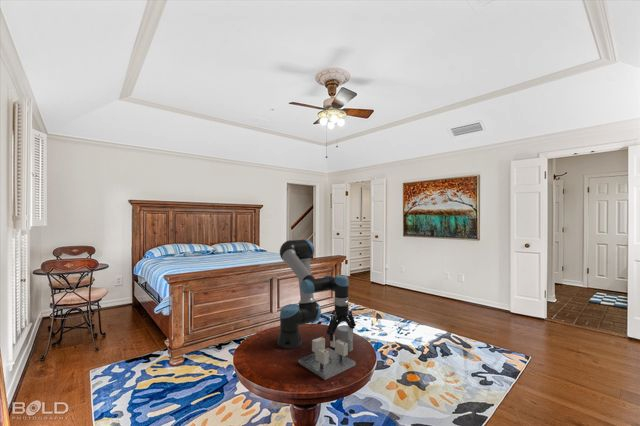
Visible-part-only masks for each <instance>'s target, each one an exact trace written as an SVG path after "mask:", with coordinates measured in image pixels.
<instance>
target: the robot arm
mask: <svg viewBox="0 0 640 426" xmlns="http://www.w3.org/2000/svg"><path fill="white" fill-rule="evenodd" d="M314 254H315V247H314V244H313V242H312V241H310V240H309V239H291V240H287V241H284V242H283V243H282V245H281V246H280V249H279V256H280V258H281V260H282V261H283V263H286V264H287V265H288V267H289V268H290V269H291V271H292V272H293V274H295V276H296V277H297V280H298V284H299V285H298V286H299V296H300V298H299V299H300V300H299V302H298V304H297V303H290V304H286V305H285V304H284V306H282V307H281V309H280V314H279V320H280V321H279V323H280V324H279V325H280V327H279V328H280V329H279V334H278V338H277V342H276V344H277V346H278V347H279V348H281V349H285V350H286V349H288V350H289V349H290V350H291V349H297V348H298V347H300V346H301V345H302V336H301V334H300V326H303V325H306V324H312V323H315V322H318V321H319V319H320V318H321V315H322V309H321V306H320V303H318V302H317V299H315V298H314V294H316V293H321V292H327V291H332V292H334V312H335V314H334V315H333V314H331V315H330V320H329V324H328V327H327V330H326V335H329V342H330V344H329V346H330V347H332V348H334V349H335V341H336V337H335V336H336V334H335V332H337V327H338V326H340V325H341V323H343V322H345V324H347V326H349V327H350V328H348V339H349V340H351V341H352V340H353V341H354V329H355V328H356V325H357V324H356V321H355V319H354V316H353V312H352V310H349V285H350V284H349V277H348V276H347V275H343V274H340V275H338V274H337V275H335V276H332V275H324V276H323V277H317V278H316V277H314V275H313V273H312V269H311V263H310V262H311V261H312V257H313V256H314Z"/></svg>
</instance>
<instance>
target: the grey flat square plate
mask: <svg viewBox="0 0 640 426" xmlns="http://www.w3.org/2000/svg"><path fill="white" fill-rule="evenodd" d="M325 350H327V351H329V363H328V364H325V365H324V368H320V362H318V361H317V360H315V352H313V353H310V354H308V355H306V356H303V357H300V358H298V362H297V363H298V364H300V365H301V366H303V367H305V368H306V369H307V370H309V371H311V372H312V373H314V374H315V375H317V376H318V377H320V378H321V379H323V380H325V381H326V380H328V379H330V378H332V377H334V376H337V375H338V374H341V373H343V372H344V371H347V370H348V369H349V370H350V369H351V368H352V367H355V366H356V365H357V364H356V361H355V360H353V359H351V358H349V357H347V355H346V356H343V359H342V360H340V359H339V354H338V353H336V352H335V349H332V348H330V347H325Z"/></svg>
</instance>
